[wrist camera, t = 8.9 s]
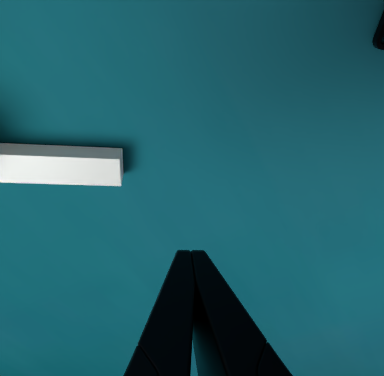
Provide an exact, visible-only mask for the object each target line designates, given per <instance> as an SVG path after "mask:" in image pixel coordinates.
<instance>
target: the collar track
mask: <svg viewBox="0 0 384 376" xmlns="http://www.w3.org/2000/svg"><path fill="white" fill-rule="evenodd" d="M122 179H123V152H122V148H104V147H81V146H58V145H35V144H12V143H0V182H4V183H37V184H70V185H102V186H121V184H122Z"/></svg>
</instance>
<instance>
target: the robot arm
mask: <svg viewBox="0 0 384 376" xmlns="http://www.w3.org/2000/svg"><path fill="white" fill-rule="evenodd" d="M383 37H384V11H383V14H382V16H381V19H380V22H379V24H378V27H377V29H376V32H375V35H374V37H373V46H374V47H376V48H378V49H381V50H384V42H383V43H381V39H382V38H383ZM192 339H193V345H194V352H195V358H196V365H197V371H198V376H293V375H292V374H291V373H290V371H289V370H288V369H287V367H286V366H285V365H284V363H283V362H282V361H281V359H280V358H279V357H278V355H277V354H276V352H275V351H274V349H273V348H272V347H271V345H270V344H269V343H268V342H267V340H266V338H265V337H264V335H263V334H262V332H261V331H260V330H259V328H258V327H257V325H256V324H255V322H254V321H253V319H252V318H251V317H250V315H249V314H248V312H247V311H246V309H245V308H244V307H243V305H242V304H241V302H240V301H239V299H238V298H237V297H236V295H235V294H234V292H233V291H232V289H231V288H230V286H229V285H228V284H227V282H226V281H225V279H224V278H223V276H222V275H221V274H220V272H219V271H218V269H217V268H216V266H215V265H214V264H213V262H212V261H211V259H210V258H209V256H208V255H207V253H206V252H205V251H203V250H192V251H191V252H190V250H178V251H177V252H176V254H175V257H174V259H173V261H172V264H171V266H170V269H169V271H168V273H167V276H166V278H165V280H164V283H163V285H162V287H161V290H160V292H159V295H158V297H157V299H156V302H155V304H154V306H153V309H152V311H151V314H150V316H149V318H148V321H147V323H146V325H145V328H144V330H143V332H142V335H141V337H140V340H139V342H138V346H136V349H135V351H134V353H133V356H132V358H131V360H130V362H129V365H128V367H127V369H126V371H125V373H124V375H123V376H190V371H191V353H192ZM266 342H267V343H266Z"/></svg>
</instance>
